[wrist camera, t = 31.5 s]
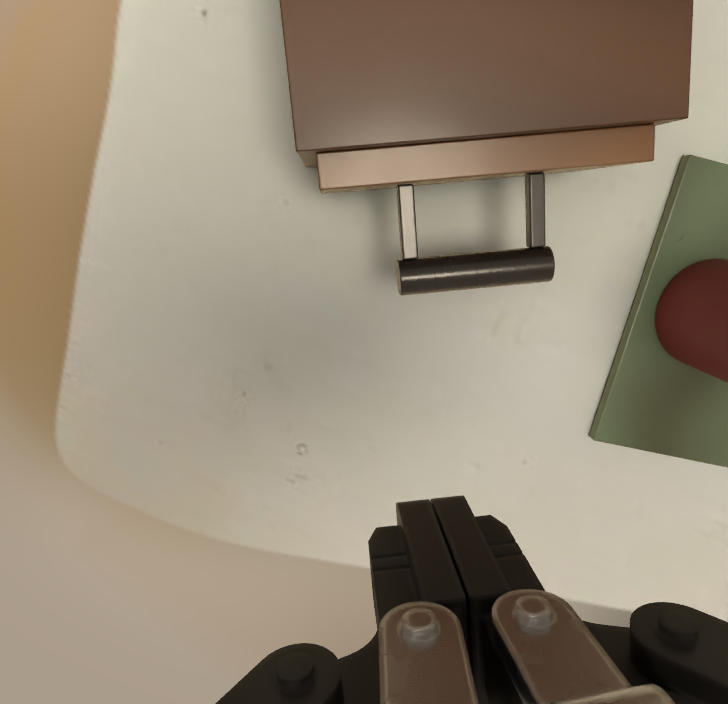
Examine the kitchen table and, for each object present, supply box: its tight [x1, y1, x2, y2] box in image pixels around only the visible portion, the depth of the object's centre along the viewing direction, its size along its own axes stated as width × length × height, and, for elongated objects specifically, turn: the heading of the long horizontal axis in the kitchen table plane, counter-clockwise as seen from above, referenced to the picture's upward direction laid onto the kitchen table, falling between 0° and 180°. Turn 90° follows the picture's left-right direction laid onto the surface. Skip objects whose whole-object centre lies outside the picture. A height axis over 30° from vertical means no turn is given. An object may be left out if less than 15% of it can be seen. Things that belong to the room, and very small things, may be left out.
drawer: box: [316, 124, 655, 296], centre depth 22 cm, size 17×11×6 cm
